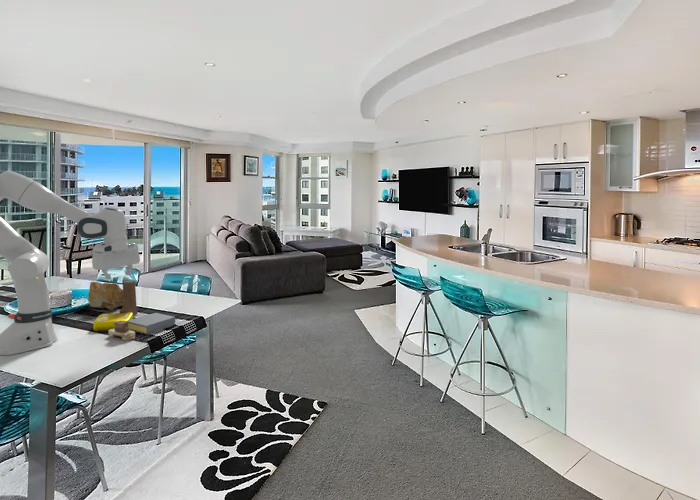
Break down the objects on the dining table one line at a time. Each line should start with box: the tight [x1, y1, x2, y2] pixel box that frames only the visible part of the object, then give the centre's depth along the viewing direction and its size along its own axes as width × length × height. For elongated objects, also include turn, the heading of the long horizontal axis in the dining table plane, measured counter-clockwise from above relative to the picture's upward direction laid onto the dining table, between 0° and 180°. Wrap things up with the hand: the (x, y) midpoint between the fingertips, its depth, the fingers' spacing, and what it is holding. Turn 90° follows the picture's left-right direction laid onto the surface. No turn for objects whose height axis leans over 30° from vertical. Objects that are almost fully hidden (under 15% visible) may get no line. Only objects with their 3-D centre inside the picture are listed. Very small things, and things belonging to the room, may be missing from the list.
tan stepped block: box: [107, 328, 136, 342], centre depth 198 cm, size 5×12×3 cm, turn 62°
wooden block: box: [118, 280, 138, 317], centre depth 226 cm, size 9×4×18 cm, turn 178°
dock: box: [126, 312, 176, 335], centre depth 212 cm, size 16×14×4 cm
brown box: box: [114, 321, 129, 333], centre depth 197 cm, size 3×5×4 cm, turn 62°
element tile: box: [92, 312, 134, 332], centre depth 214 cm, size 15×15×5 cm
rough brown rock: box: [87, 281, 124, 311], centre depth 244 cm, size 23×17×15 cm
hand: (118, 276), depth 194 cm, fingers open, 8 cm apart
